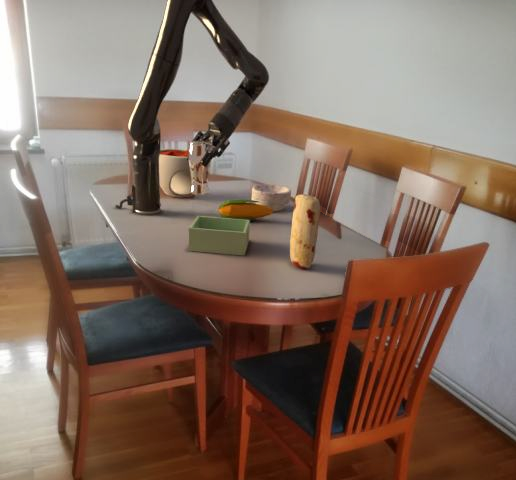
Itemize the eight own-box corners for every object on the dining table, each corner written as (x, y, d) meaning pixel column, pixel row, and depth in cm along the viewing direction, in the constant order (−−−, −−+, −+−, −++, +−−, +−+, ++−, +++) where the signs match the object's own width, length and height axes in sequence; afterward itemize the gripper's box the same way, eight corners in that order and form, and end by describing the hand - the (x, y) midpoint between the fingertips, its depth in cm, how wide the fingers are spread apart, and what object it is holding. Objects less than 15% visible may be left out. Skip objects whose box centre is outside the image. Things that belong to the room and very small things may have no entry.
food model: (282, 261, 151) (288, 191, 142) (302, 259, 154) (309, 190, 145) (299, 273, 144) (307, 199, 134) (320, 270, 147) (329, 198, 137)
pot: (220, 196, 220) (222, 151, 212) (184, 205, 202) (184, 157, 194) (176, 186, 231) (176, 144, 223) (138, 194, 213) (136, 148, 204)
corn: (217, 195, 186) (271, 196, 191) (216, 216, 190) (270, 216, 195) (220, 202, 180) (276, 202, 184) (219, 223, 184) (274, 223, 189)
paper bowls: (262, 214, 197) (263, 193, 194) (244, 205, 209) (245, 184, 205) (296, 212, 204) (298, 191, 200) (277, 203, 216) (279, 183, 212)
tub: (188, 250, 155) (188, 228, 151) (197, 236, 167) (197, 215, 164) (244, 255, 154) (245, 232, 151) (248, 241, 167) (249, 220, 164)
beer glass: (213, 192, 168) (214, 142, 161) (204, 196, 162) (205, 145, 155) (194, 189, 170) (194, 140, 163) (184, 193, 164) (184, 142, 157)
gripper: (205, 109, 164) (174, 150, 163) (234, 114, 155) (202, 158, 153) (218, 127, 170) (188, 167, 168) (247, 132, 161) (216, 175, 159)
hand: (195, 162), depth 161 cm, fingers closed on beer glass, 7 cm apart
